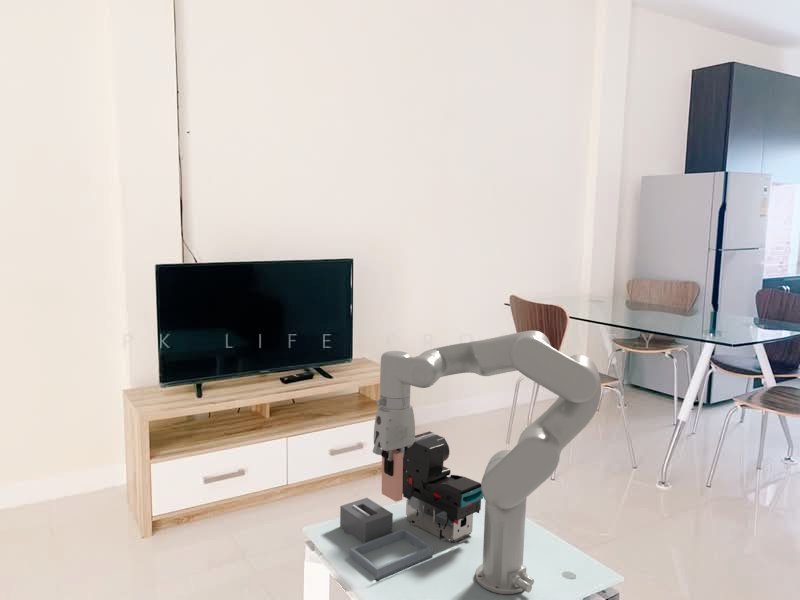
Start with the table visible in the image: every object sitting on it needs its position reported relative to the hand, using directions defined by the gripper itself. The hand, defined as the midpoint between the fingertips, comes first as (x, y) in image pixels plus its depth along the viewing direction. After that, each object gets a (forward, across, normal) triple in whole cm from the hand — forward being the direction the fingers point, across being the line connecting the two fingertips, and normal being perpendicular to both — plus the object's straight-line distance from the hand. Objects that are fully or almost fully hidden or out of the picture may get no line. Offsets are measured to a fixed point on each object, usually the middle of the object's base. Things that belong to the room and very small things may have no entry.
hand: (392, 472), depth 150 cm
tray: (+23, 0, 0) cm, 23 cm away
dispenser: (+23, +2, +14) cm, 27 cm away
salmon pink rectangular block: (+6, 0, 0) cm, 6 cm away
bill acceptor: (+23, +20, +4) cm, 31 cm away
